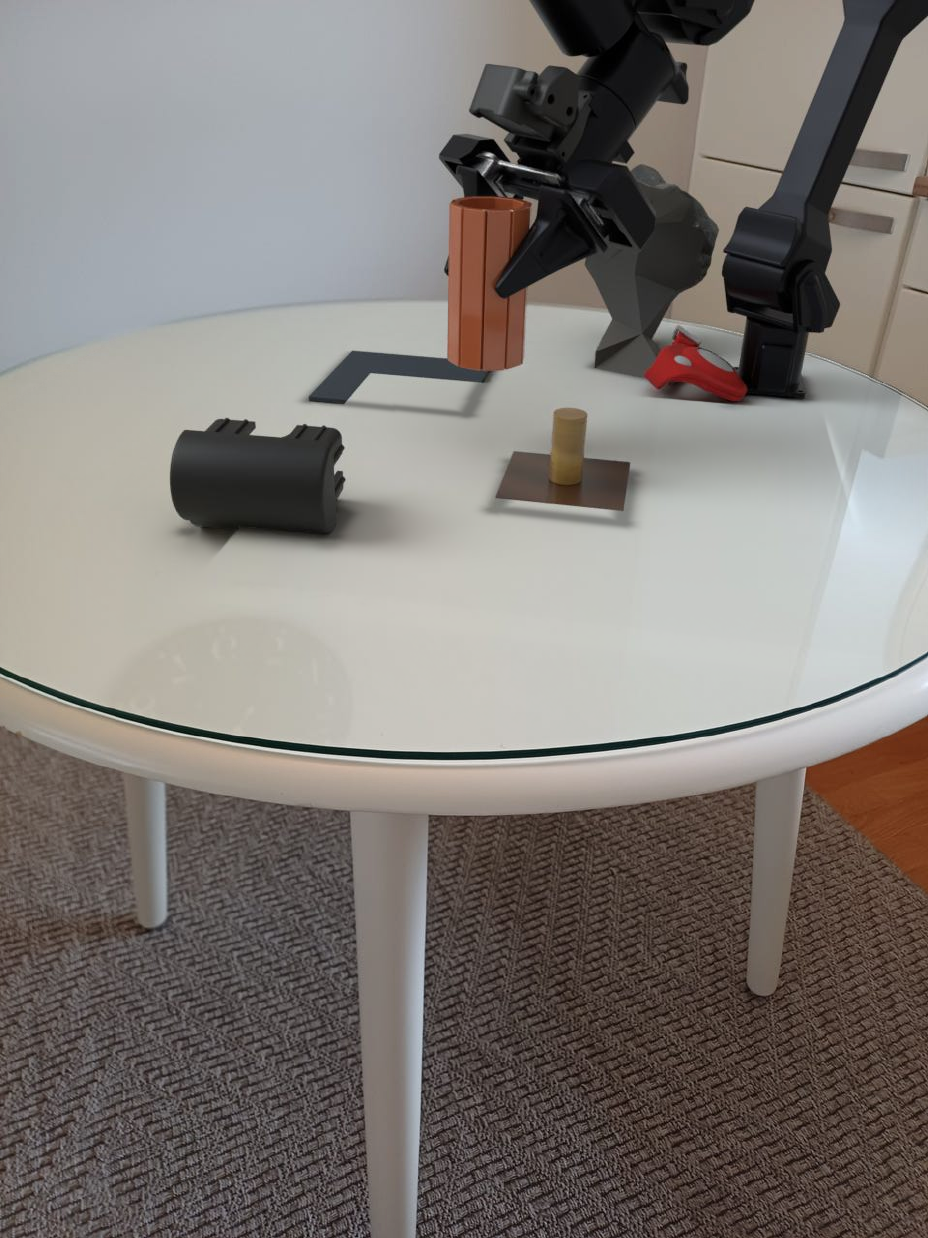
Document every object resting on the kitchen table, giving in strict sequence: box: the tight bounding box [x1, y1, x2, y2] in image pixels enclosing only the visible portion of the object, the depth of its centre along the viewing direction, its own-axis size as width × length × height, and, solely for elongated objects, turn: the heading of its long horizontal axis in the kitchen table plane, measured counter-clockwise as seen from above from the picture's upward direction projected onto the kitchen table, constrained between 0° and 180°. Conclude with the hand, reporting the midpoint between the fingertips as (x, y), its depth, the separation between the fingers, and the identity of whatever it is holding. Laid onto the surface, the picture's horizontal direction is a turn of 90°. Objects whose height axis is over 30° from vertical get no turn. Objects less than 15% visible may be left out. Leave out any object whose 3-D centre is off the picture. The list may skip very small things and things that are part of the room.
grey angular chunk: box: [584, 163, 720, 385], centre depth 106 cm, size 14×15×18 cm
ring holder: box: [494, 407, 631, 512], centre depth 78 cm, size 9×9×6 cm
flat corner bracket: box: [308, 350, 490, 405], centre depth 100 cm, size 14×14×1 cm
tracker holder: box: [644, 324, 747, 402], centre depth 100 cm, size 12×4×10 cm
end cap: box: [169, 417, 347, 535], centre depth 71 cm, size 10×7×7 cm
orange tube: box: [446, 196, 533, 372], centre depth 78 cm, size 6×6×11 cm
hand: (472, 284), depth 77 cm, fingers closed on orange tube, 6 cm apart
